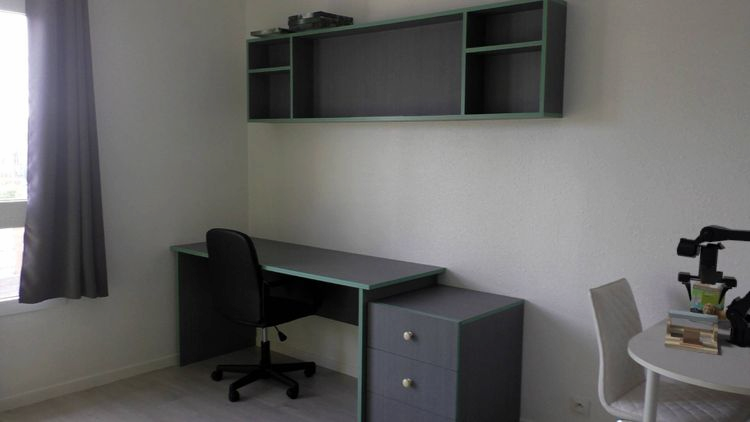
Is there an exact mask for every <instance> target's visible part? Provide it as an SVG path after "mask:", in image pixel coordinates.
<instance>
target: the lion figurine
mask: <svg viewBox="0 0 750 422" xmlns="http://www.w3.org/2000/svg"><path fill="white" fill-rule="evenodd" d="M725 312H726V311H722V310H720V309H719V308H718V307H716V306H714V305H713V304H710V303H707V304H705V305H704V308H703V313H704V314H707V315H714V316H717V317H718V321H719V320H720V321H722V322H726V321H727V322H728V321H729V320H728V319H727V317H726V313H725ZM720 321H719V322H720ZM719 322H717V324H718V323H719ZM713 325H714V323H713V324H710V326H711V327H713ZM728 329H731V325H730V326H728Z"/></svg>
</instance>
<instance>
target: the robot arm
mask: <svg viewBox="0 0 750 422" xmlns="http://www.w3.org/2000/svg"><path fill="white" fill-rule="evenodd" d="M725 241H736V242H750V229H732V228H729V227H725V226H721V225H716V224H711V225H706V226H704V227H702V228H701V229H700V231H699V235H698V236H697V237H696V238H695V239H693V238H692V239H691V238H687V237H680V238H679V242H678V244H677V247H676V255H677V256H678V257H683V258H691V259H695V258H697V257H698V256H699V261H698V262H699V263H698V273H697V275H694V274H693V275H692V274H691V272H689V271H688V272H687V271H679V272H678V273H677V282H678V283H681V285H685V288H686V292H687V294H688V298H689V302H691V298H692V283H691V281H695V282H697V281H700V282H701V283H702V284H711V285H716V283H723V284H722V285H721V290H720V295H719V300H718V304H719V305H720V303H721V301H722V299H723V297H724V295H725V294H726V293H727V292H728V291H729V290H733V288H738V280H737V278H736V277H735V276H728V275H724V271H723V270H721V271H720V270H717V269H718V260H719V250H721V251H723V250H725V249H726V246H724V245H723V243H722V242H725ZM704 243H707V244H704ZM726 295H727V294H726ZM726 295H725V296H726ZM725 308H726V310H725V311H724V312H725V313H726V317H727V319H728V321H729V323H730V326H731V328H730V332H729V339H725V341H726V342H727V343H730V344H733V345H736V346H737V347H741V348H742V347H750V290H748V292H747V293H746V294H745V295H744V296H743V297H740V296H737V297H735V298H733V300H732V301H731V303H729V304H728V305H727V306H726V307H725Z"/></svg>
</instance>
